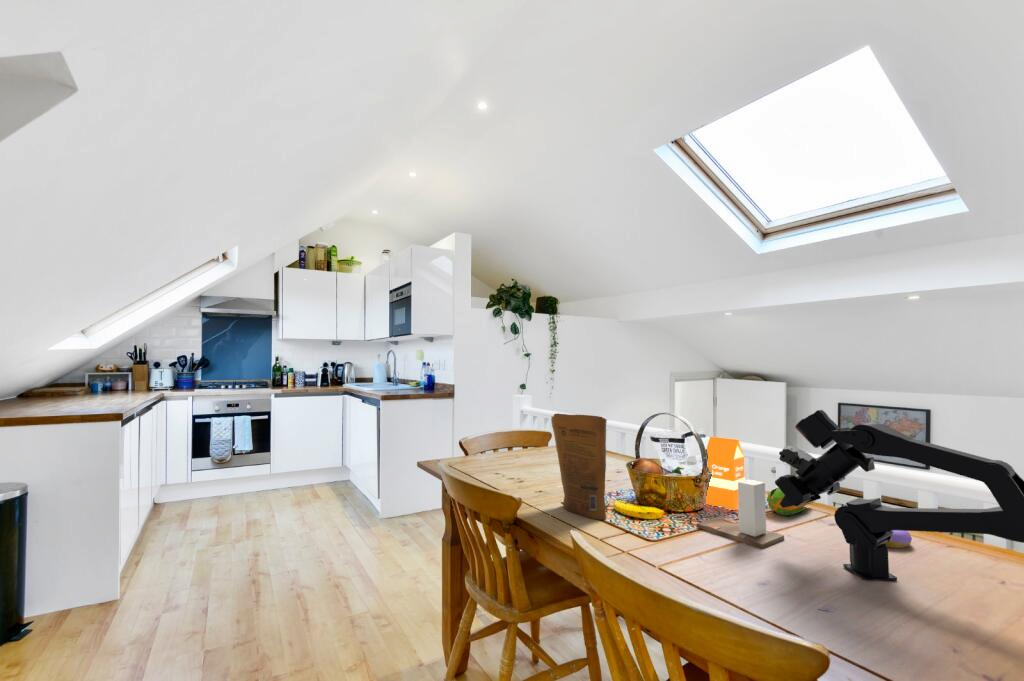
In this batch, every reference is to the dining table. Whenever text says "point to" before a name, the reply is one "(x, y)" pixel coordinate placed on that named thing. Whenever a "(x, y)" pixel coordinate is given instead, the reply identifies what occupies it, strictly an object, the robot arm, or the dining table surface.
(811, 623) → the dining table surface
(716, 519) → the brown flat wooden board
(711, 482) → the orange juice
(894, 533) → the donut
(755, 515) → the white tall block
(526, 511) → the dining table surface
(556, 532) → the dining table surface
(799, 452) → the robot arm
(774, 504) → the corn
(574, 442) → the pancake mix bag
